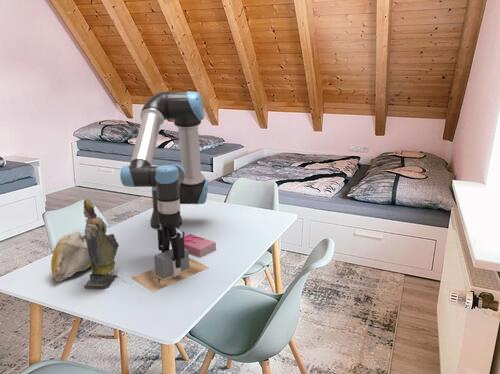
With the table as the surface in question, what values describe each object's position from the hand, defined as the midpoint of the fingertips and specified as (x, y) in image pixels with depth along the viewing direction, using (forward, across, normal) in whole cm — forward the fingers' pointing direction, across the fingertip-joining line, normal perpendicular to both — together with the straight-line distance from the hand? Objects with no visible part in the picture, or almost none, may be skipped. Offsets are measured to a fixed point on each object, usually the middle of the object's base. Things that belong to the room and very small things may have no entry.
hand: (172, 272), depth 140 cm
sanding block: (0, 0, 0) cm, 0 cm away
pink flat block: (+2, -14, +19) cm, 23 cm away
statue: (+2, -16, -19) cm, 25 cm away
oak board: (+1, -1, 0) cm, 2 cm away
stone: (+2, -29, -20) cm, 35 cm away
